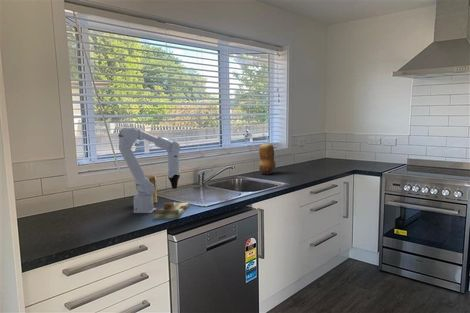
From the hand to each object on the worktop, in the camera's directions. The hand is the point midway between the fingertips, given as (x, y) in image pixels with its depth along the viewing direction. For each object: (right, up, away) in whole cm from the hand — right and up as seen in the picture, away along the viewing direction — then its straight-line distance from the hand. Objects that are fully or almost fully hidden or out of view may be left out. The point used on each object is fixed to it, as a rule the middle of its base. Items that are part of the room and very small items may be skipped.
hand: (174, 188), depth 189 cm
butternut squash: (+59, +3, +92) cm, 110 cm away
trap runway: (+1, -11, -12) cm, 16 cm away
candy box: (-16, -9, +9) cm, 20 cm away
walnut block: (0, -10, -17) cm, 20 cm away
